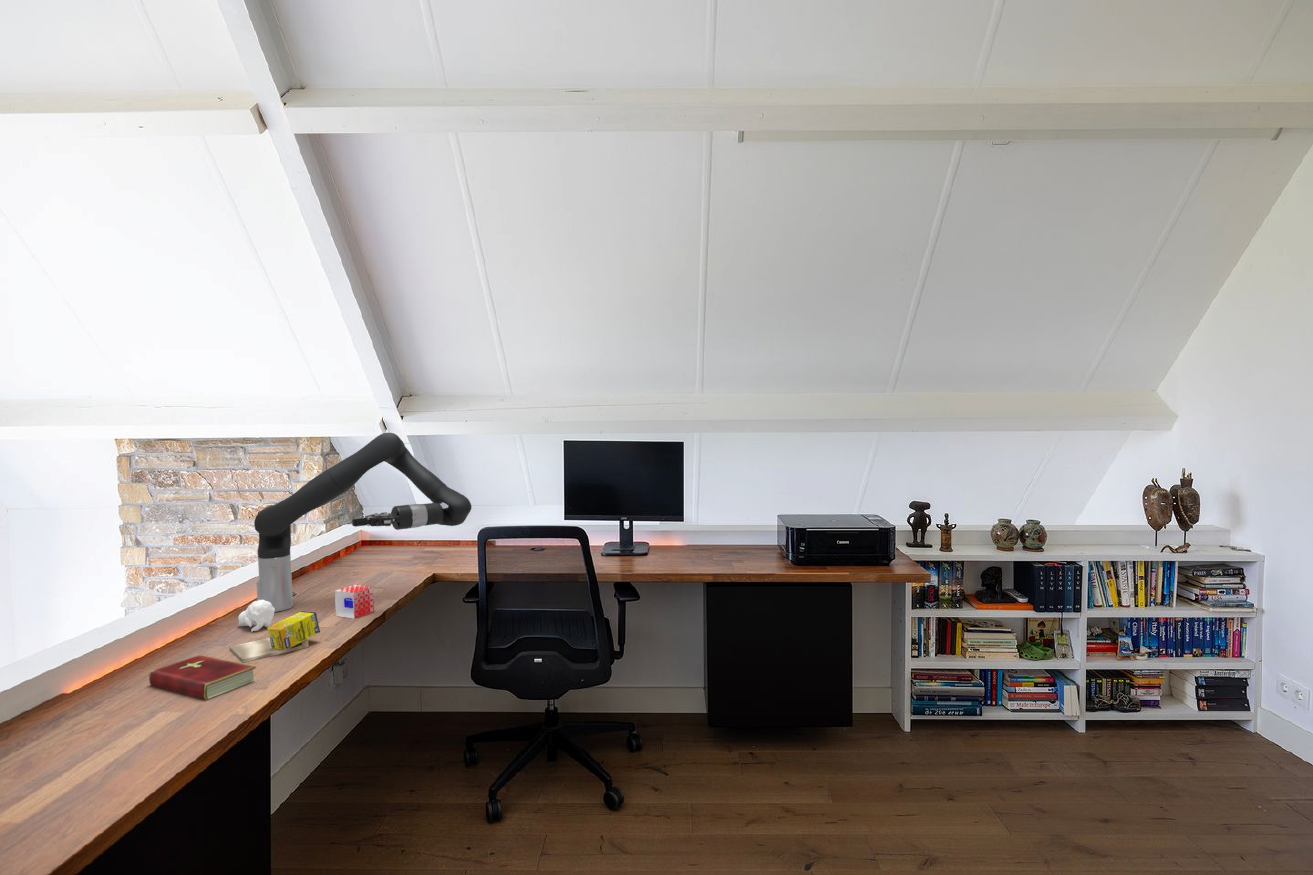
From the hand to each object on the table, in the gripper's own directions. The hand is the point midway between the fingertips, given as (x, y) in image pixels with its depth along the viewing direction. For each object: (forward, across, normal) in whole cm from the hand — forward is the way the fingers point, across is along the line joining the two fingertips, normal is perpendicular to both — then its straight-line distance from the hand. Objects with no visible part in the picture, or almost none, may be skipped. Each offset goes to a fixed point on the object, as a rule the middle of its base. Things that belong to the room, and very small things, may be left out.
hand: (353, 522), depth 214 cm
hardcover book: (+43, +26, +30) cm, 59 cm away
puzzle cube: (-2, -7, +30) cm, 31 cm away
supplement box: (+16, +12, +24) cm, 31 cm away
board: (+27, +10, +30) cm, 41 cm away
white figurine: (+25, -13, +30) cm, 41 cm away
